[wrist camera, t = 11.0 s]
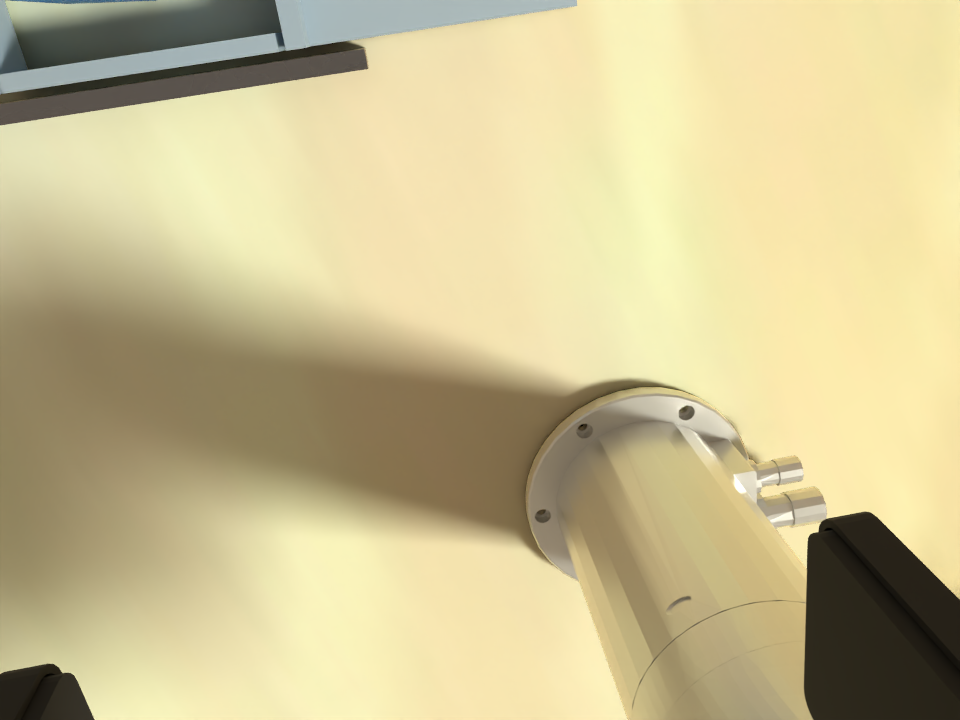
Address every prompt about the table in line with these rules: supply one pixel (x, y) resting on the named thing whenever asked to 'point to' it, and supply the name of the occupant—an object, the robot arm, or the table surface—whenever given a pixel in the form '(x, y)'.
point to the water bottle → (79, 1)
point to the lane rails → (182, 86)
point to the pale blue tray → (268, 36)
